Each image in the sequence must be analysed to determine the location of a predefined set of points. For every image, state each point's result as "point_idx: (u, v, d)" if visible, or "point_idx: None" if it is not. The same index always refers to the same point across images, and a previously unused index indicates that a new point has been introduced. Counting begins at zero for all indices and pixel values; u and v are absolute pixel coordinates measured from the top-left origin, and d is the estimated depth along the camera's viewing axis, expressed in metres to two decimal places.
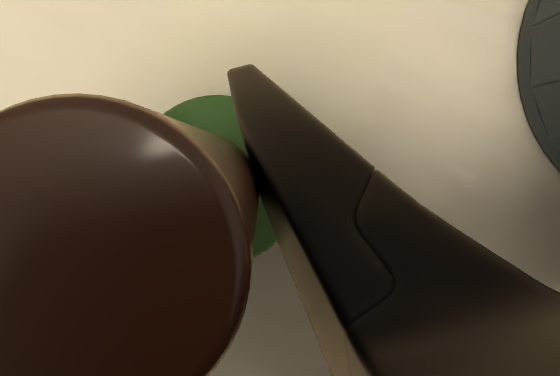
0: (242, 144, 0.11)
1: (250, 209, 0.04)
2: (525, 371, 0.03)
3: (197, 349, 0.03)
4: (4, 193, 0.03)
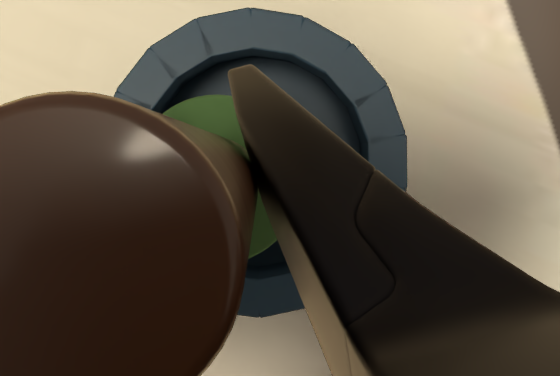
0: (241, 143, 0.11)
1: (246, 207, 0.04)
2: (527, 371, 0.03)
3: (191, 346, 0.03)
4: None
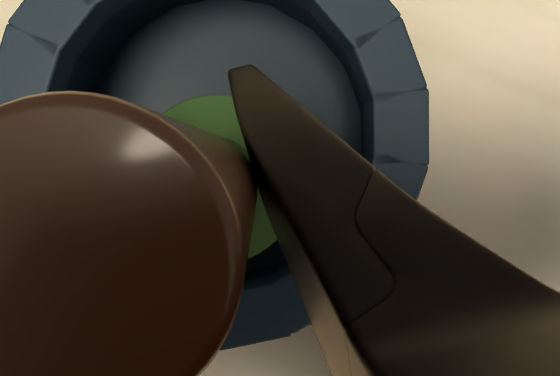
0: (241, 143, 0.11)
1: (245, 206, 0.04)
2: (527, 371, 0.03)
3: (191, 345, 0.03)
4: None
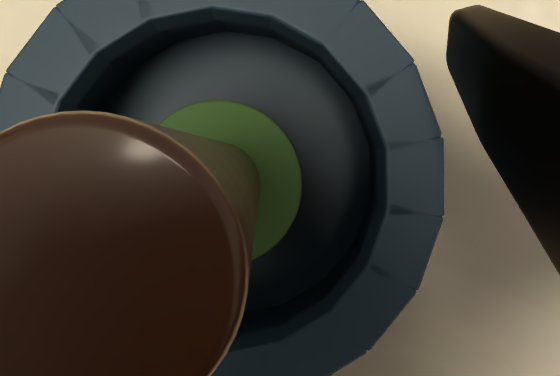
0: (242, 148, 0.11)
1: (248, 217, 0.04)
2: None
3: (197, 353, 0.03)
4: (14, 205, 0.03)
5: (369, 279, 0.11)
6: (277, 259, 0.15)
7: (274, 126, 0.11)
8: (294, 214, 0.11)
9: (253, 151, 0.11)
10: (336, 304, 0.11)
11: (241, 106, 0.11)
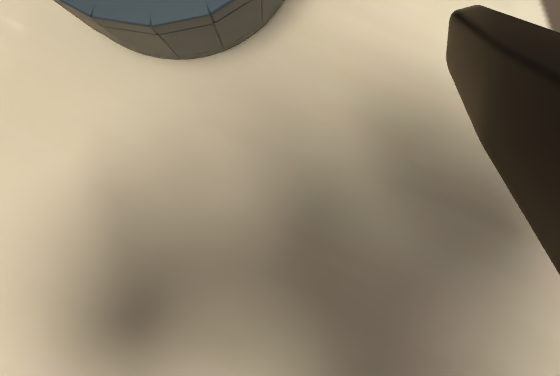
0: None
1: None
2: None
3: None
4: None
5: None
6: None
7: None
8: None
9: None
10: None
11: None
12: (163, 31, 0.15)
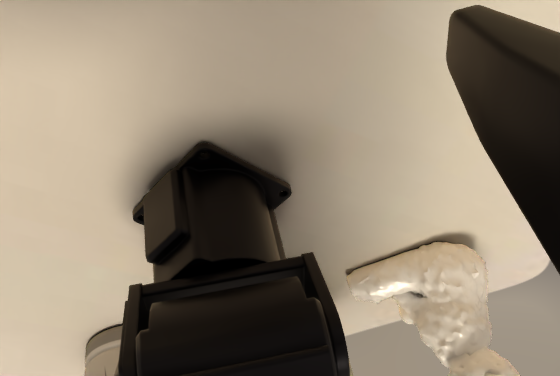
0: None
1: None
2: None
3: None
4: None
5: None
6: None
7: None
8: None
9: None
10: None
11: None
12: None
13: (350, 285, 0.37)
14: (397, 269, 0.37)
